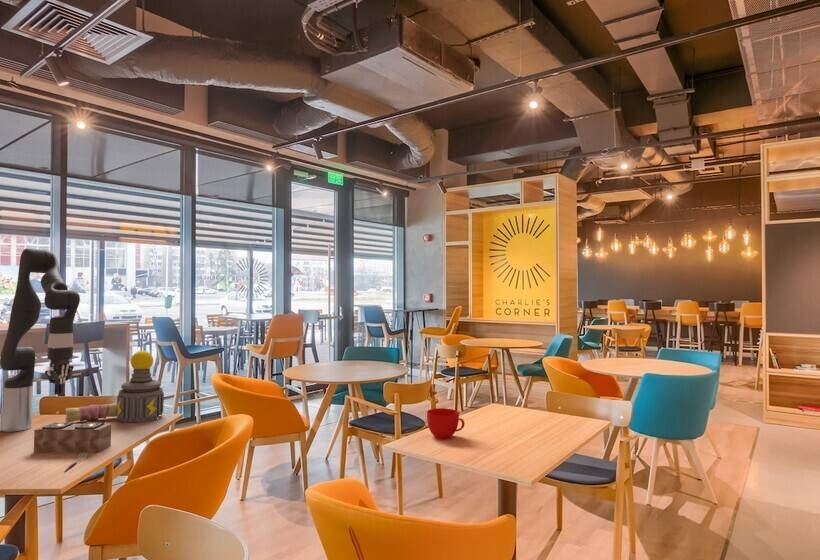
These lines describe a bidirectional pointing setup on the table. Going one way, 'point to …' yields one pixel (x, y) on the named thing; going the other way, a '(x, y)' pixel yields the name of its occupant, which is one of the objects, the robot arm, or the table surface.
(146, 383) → the decorative lamp
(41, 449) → the walnut bar
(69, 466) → the fork
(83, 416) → the scroll
